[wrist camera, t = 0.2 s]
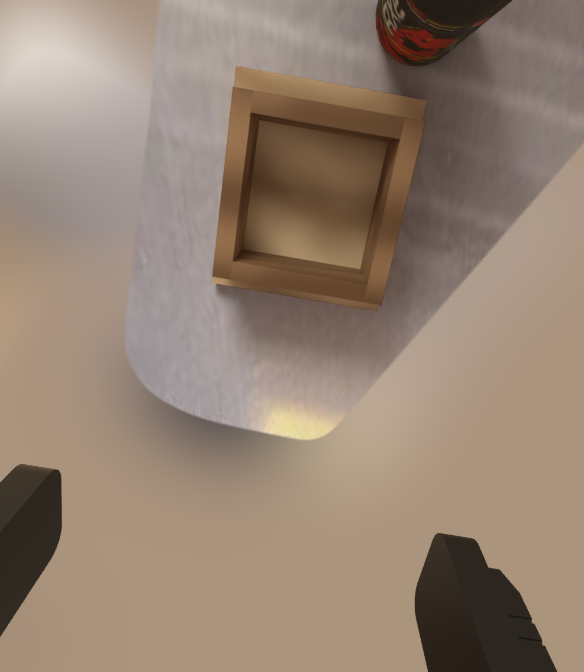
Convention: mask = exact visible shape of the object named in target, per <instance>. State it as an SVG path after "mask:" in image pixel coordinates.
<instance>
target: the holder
mask: <svg viewBox="0 0 584 672" xmlns="http://www.w3.org/2000/svg"><path fill="white" fill-rule="evenodd" d="M426 103H427V100H422V99H417V98H411V97H406V96H400V95H394V94H389V93H383V92H378V91H372V90H367V89H361V88H355V87H350V86H344V85H339V84H333V83H328V82H322V81H316V80H311V79H305V78H300V77H294V76H289V75H283V74H277V73H272V72H266V71H261V70H255V69H250V68H244V67H238V66H236V71H235V81H234V87H233V91H232V100H231V109H230V119H229V128H228V137H227V146H226V156H225V165H224V174H223V183H222V193H221V202H220V211H219V220H218V230H217V239H216V248H215V258H214V267H213V276H212V277H213V283H216V284H222V285H228V286H234V287H240V288H245V289H251V290H257V291H263V292H269V293H275V294H281V295H287V296H292V297H298V298H304V299H310V300H316V301H322V302H328V303H334V304H340V305H345V306H351V307H357V308H363V309H369V310H375V311H377V309H378V305H381V304H382V300H383V296H384V291H385V287H386V283H387V279H388V275H389V271H390V266H391V262H392V258H393V254H394V250H395V246H396V242H397V237H398V233H399V229H400V225H401V221H402V217H403V212H404V208H405V204H406V200H407V196H408V192H409V187H410V183H411V179H412V175H413V171H414V167H415V162H416V158H417V154H418V150H419V146H420V142H421V138H422V133H423V129H424V125H425V121H423V116H424V112H425V108H426Z"/></svg>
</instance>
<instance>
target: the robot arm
mask: <svg viewBox="0 0 584 672" xmlns="http://www.w3.org/2000/svg"><path fill="white" fill-rule="evenodd" d="M61 501H62V500H61V474H60V472H59V470H56V469H50V468H44V467H38V466H32V465H25V464H20V465H18V466H16V467H15V468H14V469H13V470H12V471H11V472H10V473H9V474H8V475H7V476H6V477H5V478H4V479H3V480H2V481H1V482H0V636H1V635H2V633H3V632H4V630H5V629H6V627H7V626H8V624H9V623H10V621H11V620H12V618H13V616H14V615H15V613H16V612H17V610H18V609H19V607H20V606H21V604H22V603H23V601H24V600H25V598H26V597H27V595H28V593H29V592H30V590H31V589H32V587H33V586H34V584H35V583H36V581H37V580H38V578H39V577H40V575H41V574H42V572H43V571H44V569H45V567H46V566H47V564H48V563H49V561H50V560H51V558H52V556H53V554H54V552H55V550H56V548H57V545H58V542H59V539H60V535H61V529H62V505H61V504H62V502H61ZM415 615H416V620H417V624H418V629H419V633H420V638H421V642H422V647H423V651H424V656H425V660H426V665H427V669H428V672H557V670H556V668H555V666H554V664H553V662H552V660H551V658H550V656H549V654H548V651H547V649H546V647H545V646H543V645H542V639H541V637H540V635H539V632H538V630H537V628H536V626H535V624H533V623H532V618H531V616H530V614H529V612H528V609H527V607H526V605H525V603H524V601H523V599H522V597H521V595H520V593H519V592H518V591H517V589H516V588H515V587H514V586H513V585H512V584H511V583H510V581H509V580H508V579H507V578H506V577H505V575H504V574H503V573H502V572H501V571H500V570H499V569H493V568H488V566H487V564H486V561H485V559H484V556H483V554H482V552H481V550H480V547H479V545H478V543H477V542H476V540H474V539H472V538H466V537H460V536H454V535H448V534H442V533H438V534H436V535H435V536H434V538H433V541H432V543H431V546H430V549H429V552H428V555H427V558H426V561H425V563H424V566H423V569H422V572H421V575H420V578H419V580H418V583H417V587H416V592H415Z"/></svg>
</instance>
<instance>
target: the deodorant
mask: <svg viewBox="0 0 584 672" xmlns="http://www.w3.org/2000/svg"><path fill="white" fill-rule="evenodd" d="M511 1H512V0H378V5H377V10H376V28H377V32H378V36H379V39H380V41H381V43H382V45H383V47H384V48H385V50H386V51H387V52H388V53H389V54H390V55H391V56H392V57H393V58H394V59H395V60H397V61H399V62H401V63H403V64H407V65H412V66H420V65H428V64H430V63H432V62H435V61H437V60H439V59H440V58H442V57H443V56H444V55H446V54H447V53H448V52H450V51H451V50H452V49H453V48H454V47H456V46H457V45H458V44H459V43H461V42H462V41H463V40H464V39H465V38H467V37H468V36H469V35H470V34H472V33H473V32H474V31H475V30H476V29H478V28H479V27H480V26H481V25H483V24H484V23H485V22H486V21H488V20H489V19H490V18H491V17H492V16H494V15H495V14H496V13H497V12H499V11H500V10H501V9H502V8H503V7H505V6H506V5H507V4H508V3H510V2H511Z"/></svg>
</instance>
